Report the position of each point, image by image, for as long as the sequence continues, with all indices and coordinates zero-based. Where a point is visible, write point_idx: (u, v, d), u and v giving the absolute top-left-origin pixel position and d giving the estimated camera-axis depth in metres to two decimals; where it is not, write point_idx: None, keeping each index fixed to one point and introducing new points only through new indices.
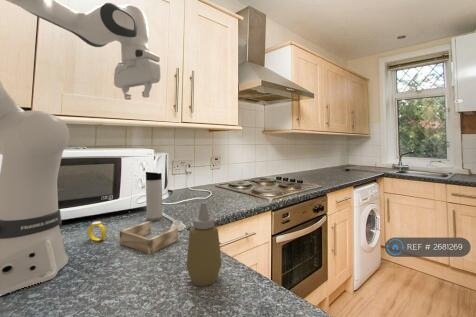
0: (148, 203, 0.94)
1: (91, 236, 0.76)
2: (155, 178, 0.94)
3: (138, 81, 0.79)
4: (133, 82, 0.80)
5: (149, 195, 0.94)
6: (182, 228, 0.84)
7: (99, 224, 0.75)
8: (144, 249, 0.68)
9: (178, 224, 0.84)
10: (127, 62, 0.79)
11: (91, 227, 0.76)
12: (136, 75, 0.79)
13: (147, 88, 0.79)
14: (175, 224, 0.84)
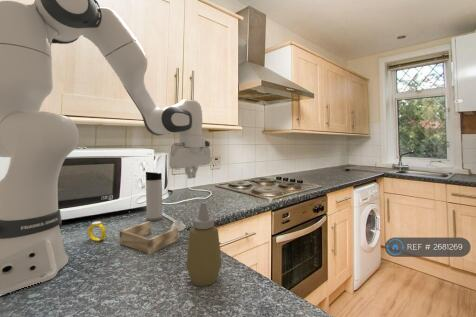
0: (148, 203, 0.94)
1: (91, 236, 0.76)
2: (155, 178, 0.94)
3: (200, 164, 0.93)
4: (196, 165, 0.91)
5: (149, 195, 0.94)
6: (182, 228, 0.84)
7: (99, 224, 0.75)
8: (144, 249, 0.68)
9: (178, 224, 0.84)
10: (197, 148, 0.89)
11: (91, 227, 0.76)
12: (199, 159, 0.92)
13: None
14: (175, 224, 0.84)
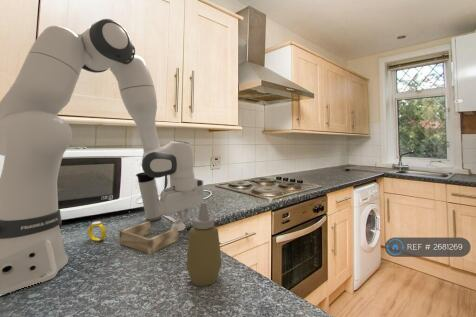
0: (144, 204, 0.93)
1: (91, 236, 0.76)
2: (146, 179, 0.91)
3: (192, 205, 0.89)
4: (188, 207, 0.87)
5: (143, 196, 0.92)
6: (183, 228, 0.84)
7: (99, 224, 0.75)
8: (144, 249, 0.68)
9: (179, 224, 0.84)
10: (188, 191, 0.85)
11: (91, 227, 0.76)
12: (191, 200, 0.89)
13: None
14: (176, 224, 0.84)
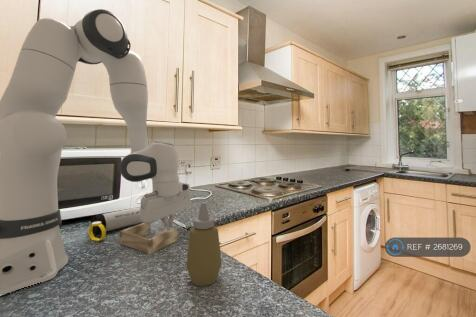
0: None
1: (91, 236, 0.76)
2: None
3: (178, 211, 0.83)
4: (172, 213, 0.81)
5: (121, 227, 0.86)
6: None
7: (99, 224, 0.75)
8: (144, 249, 0.68)
9: (162, 231, 0.78)
10: (172, 196, 0.79)
11: (91, 227, 0.76)
12: (176, 206, 0.82)
13: None
14: (159, 231, 0.77)
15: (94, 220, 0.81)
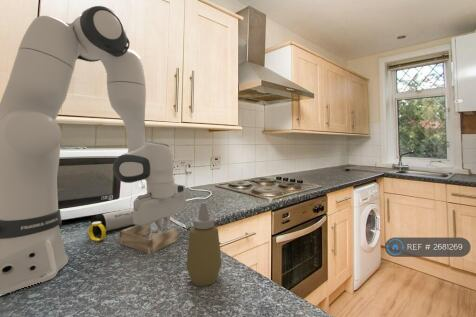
0: None
1: (91, 236, 0.76)
2: None
3: (173, 213, 0.81)
4: (167, 215, 0.78)
5: (121, 227, 0.86)
6: None
7: (99, 224, 0.75)
8: (144, 249, 0.68)
9: (156, 234, 0.75)
10: (167, 198, 0.76)
11: (91, 227, 0.76)
12: (171, 208, 0.80)
13: None
14: (152, 234, 0.75)
15: (94, 220, 0.81)
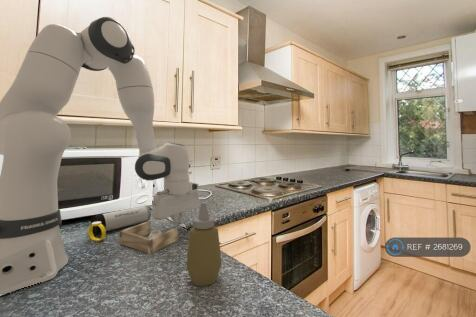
0: None
1: (91, 236, 0.76)
2: None
3: (187, 209, 0.87)
4: (182, 211, 0.85)
5: None
6: None
7: (99, 224, 0.75)
8: (144, 249, 0.68)
9: (156, 234, 0.75)
10: (183, 194, 0.83)
11: (91, 227, 0.76)
12: (186, 204, 0.86)
13: None
14: (152, 234, 0.75)
15: (94, 220, 0.81)
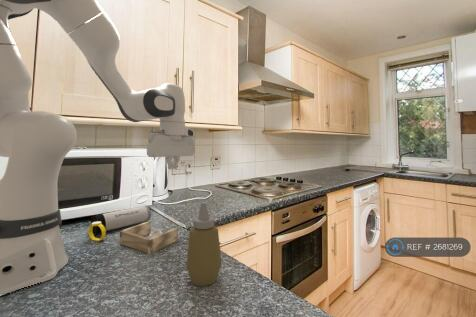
0: None
1: (91, 236, 0.76)
2: None
3: (182, 155, 0.86)
4: (177, 155, 0.84)
5: None
6: None
7: (99, 224, 0.75)
8: (144, 249, 0.68)
9: (156, 234, 0.75)
10: (178, 137, 0.82)
11: (91, 227, 0.76)
12: (181, 149, 0.86)
13: None
14: (152, 234, 0.75)
15: (94, 220, 0.81)
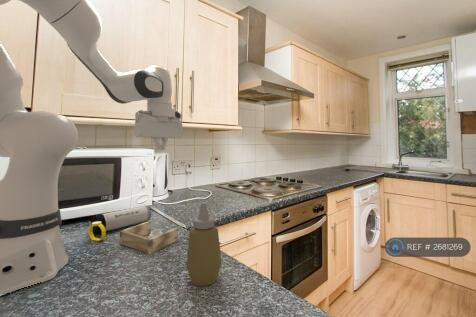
0: None
1: (91, 236, 0.76)
2: None
3: (170, 136, 0.89)
4: (165, 136, 0.87)
5: (121, 227, 0.86)
6: None
7: (99, 224, 0.75)
8: (144, 249, 0.68)
9: (156, 234, 0.75)
10: (165, 118, 0.85)
11: (91, 227, 0.76)
12: (169, 131, 0.89)
13: None
14: (153, 234, 0.75)
15: (94, 220, 0.81)
